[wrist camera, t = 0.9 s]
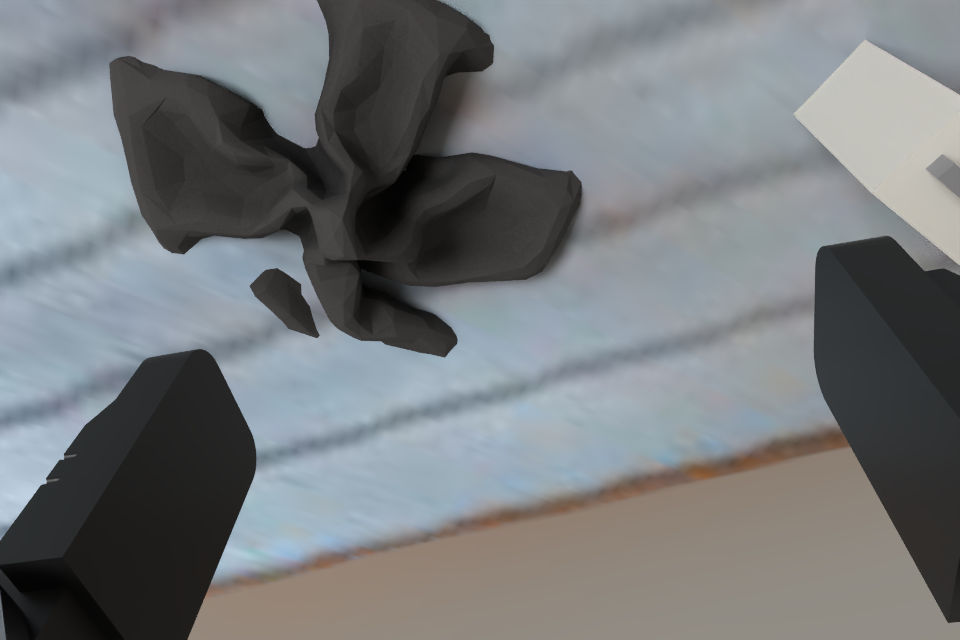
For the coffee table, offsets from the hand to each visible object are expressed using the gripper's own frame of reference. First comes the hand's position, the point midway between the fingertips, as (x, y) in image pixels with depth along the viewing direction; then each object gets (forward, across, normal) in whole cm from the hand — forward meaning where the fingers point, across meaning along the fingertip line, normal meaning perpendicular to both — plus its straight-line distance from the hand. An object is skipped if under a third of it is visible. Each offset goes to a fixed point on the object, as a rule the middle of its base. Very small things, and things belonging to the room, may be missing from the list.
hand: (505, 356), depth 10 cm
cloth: (+23, +8, +7) cm, 26 cm away
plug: (+23, -13, +6) cm, 27 cm away
